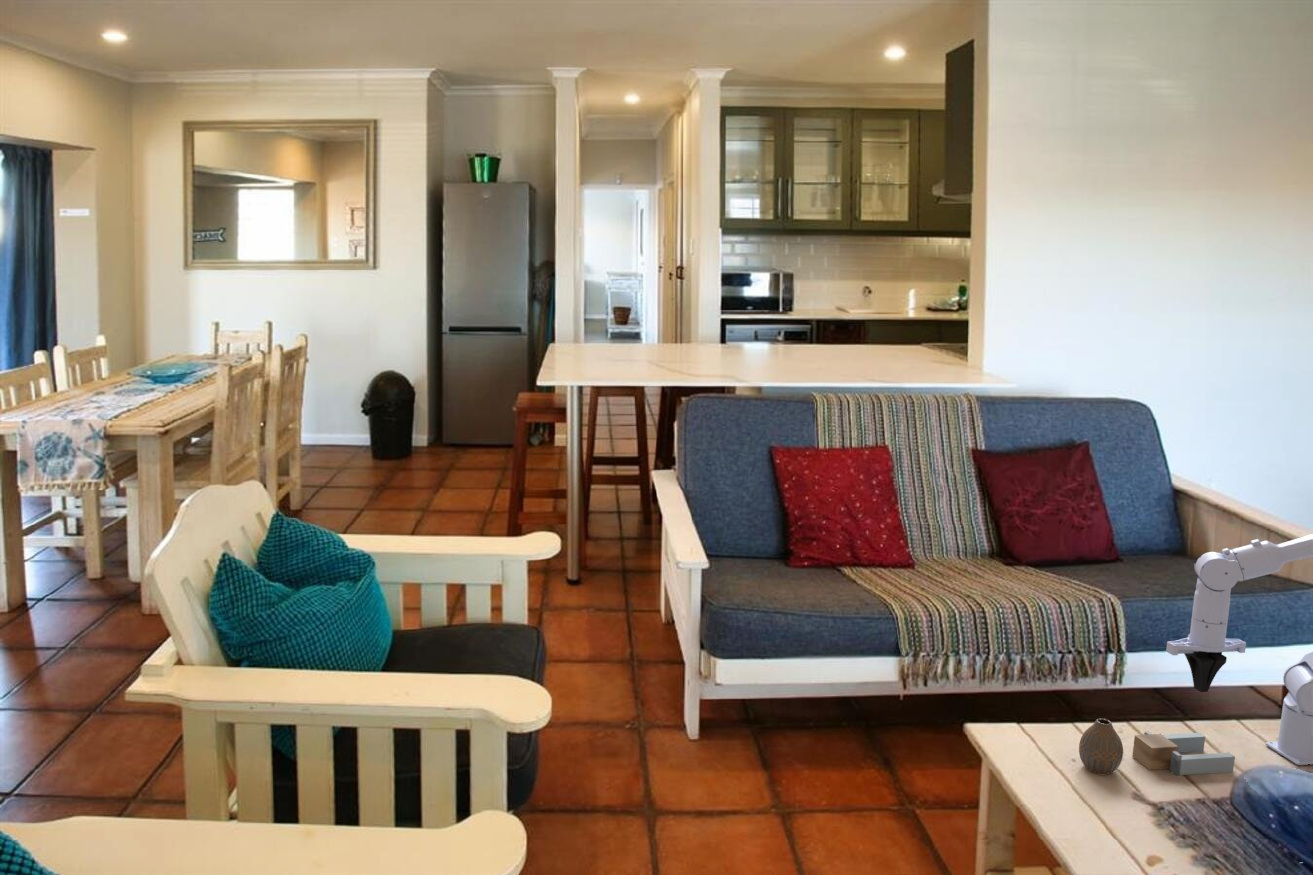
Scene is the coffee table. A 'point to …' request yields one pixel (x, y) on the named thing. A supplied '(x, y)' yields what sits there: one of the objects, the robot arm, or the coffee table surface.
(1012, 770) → the coffee table surface
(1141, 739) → the walnut block
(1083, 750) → the vase
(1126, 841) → the coffee table surface
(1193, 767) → the pair of lipped bars
